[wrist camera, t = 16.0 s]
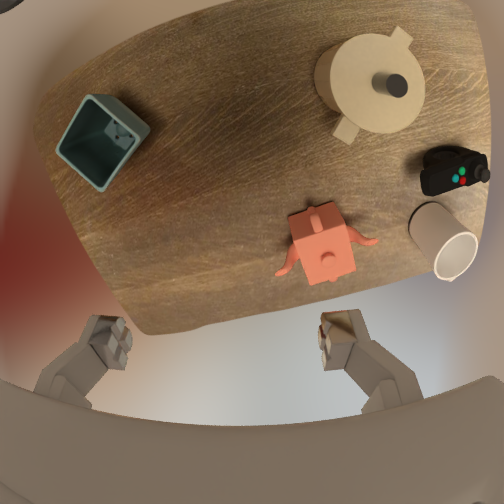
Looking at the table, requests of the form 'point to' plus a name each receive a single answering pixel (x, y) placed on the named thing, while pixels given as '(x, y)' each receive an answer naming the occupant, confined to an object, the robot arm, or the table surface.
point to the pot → (321, 79)
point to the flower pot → (101, 139)
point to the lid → (377, 83)
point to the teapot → (322, 244)
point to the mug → (442, 240)
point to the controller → (452, 169)
